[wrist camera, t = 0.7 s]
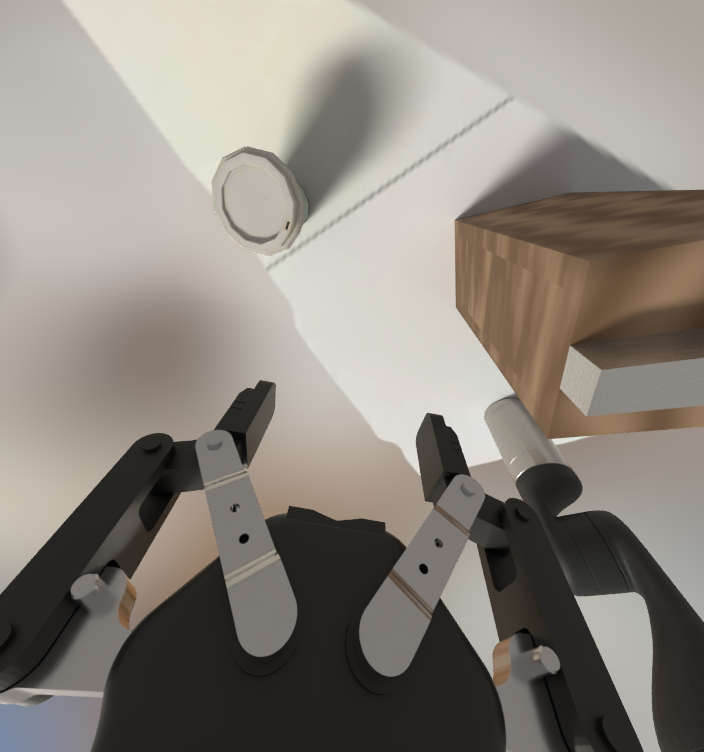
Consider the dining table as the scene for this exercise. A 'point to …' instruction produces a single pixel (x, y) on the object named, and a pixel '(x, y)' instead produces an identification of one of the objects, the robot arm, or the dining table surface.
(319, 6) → the dining table surface
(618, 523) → the robot arm
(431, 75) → the dining table surface
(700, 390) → the metal bar
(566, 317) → the walnut shelf
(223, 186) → the disposable coffee cup
